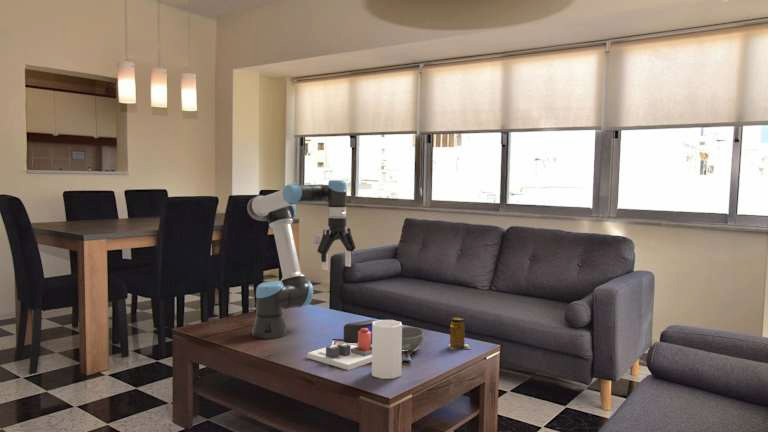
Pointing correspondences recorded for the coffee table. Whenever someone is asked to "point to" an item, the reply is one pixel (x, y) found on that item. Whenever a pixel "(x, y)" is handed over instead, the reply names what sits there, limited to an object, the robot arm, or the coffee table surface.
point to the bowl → (411, 338)
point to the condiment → (457, 334)
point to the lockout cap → (364, 340)
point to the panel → (343, 357)
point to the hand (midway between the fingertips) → (336, 268)
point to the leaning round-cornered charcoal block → (356, 330)
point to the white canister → (386, 349)
